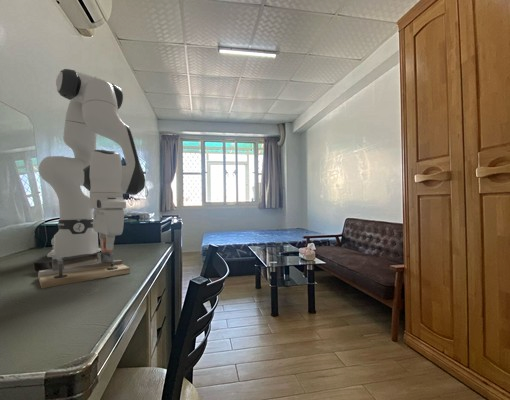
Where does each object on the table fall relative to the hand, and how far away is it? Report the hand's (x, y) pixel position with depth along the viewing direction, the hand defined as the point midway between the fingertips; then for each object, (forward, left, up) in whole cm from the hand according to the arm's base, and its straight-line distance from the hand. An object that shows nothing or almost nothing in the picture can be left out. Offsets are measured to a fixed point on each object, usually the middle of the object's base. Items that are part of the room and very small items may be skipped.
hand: (106, 248), depth 81 cm
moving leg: (+2, 0, -5) cm, 5 cm away
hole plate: (+2, -6, -7) cm, 9 cm away
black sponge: (-14, -8, -7) cm, 17 cm away
